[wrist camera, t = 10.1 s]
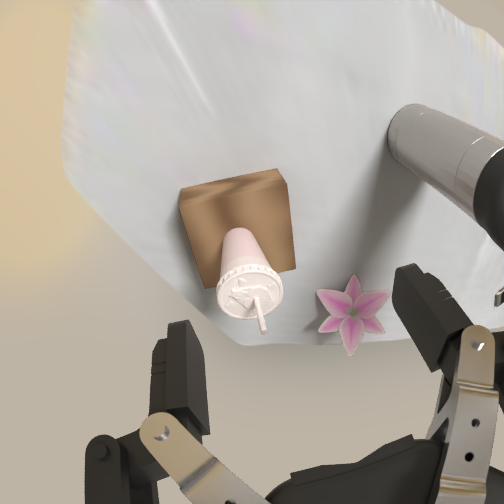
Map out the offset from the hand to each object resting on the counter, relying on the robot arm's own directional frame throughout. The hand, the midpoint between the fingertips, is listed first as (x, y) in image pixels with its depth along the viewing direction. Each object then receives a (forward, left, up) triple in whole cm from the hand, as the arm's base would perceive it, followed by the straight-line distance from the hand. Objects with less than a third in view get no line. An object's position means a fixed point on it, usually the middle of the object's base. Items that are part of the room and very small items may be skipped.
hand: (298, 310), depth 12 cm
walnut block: (+1, +12, -29) cm, 31 cm away
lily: (-14, +30, -29) cm, 44 cm away
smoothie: (+2, +12, -24) cm, 27 cm away
